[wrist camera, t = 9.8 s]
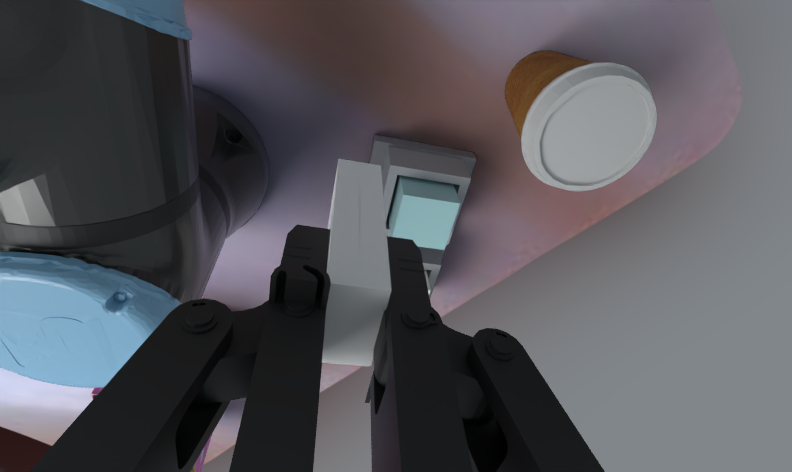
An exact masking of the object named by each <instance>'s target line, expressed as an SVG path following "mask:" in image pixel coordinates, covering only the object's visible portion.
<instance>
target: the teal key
mask: <svg viewBox="0 0 792 472" xmlns="http://www.w3.org/2000/svg"><path fill="white" fill-rule="evenodd" d="M459 206H460V201H459V199H458V196H457V193H456V190H455V187H454V185H453V184H451V183H445V182H439V181H432V180H426V179H420V178H414V177H408V176H402V175H397V178H396V183H395V187H394V191H393V195H392V199H391V203H390V207H389V212H388V218H389V228H390V237H397V238H404V239H411V240H413V241H414V242H415V244H416V245H417V246H418V247H426V248H433V249H440V250H445V247H446V244H447V241H448V238H449V235H450V232H451V229H452V226H453V224H454V221H455V218H456V215H457V212H458V209H459Z"/></svg>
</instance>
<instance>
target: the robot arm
mask: <svg viewBox="0 0 792 472" xmlns="http://www.w3.org/2000/svg"><path fill="white" fill-rule="evenodd" d="M189 40H192V33H191V30H190V29H189V28H188V27H187V24H186V18H185V12H184V4H183V0H0V367H1V368H3V369H6V370H9V371H12V372H15V373H17V374H20V375H22V376H25V377H28V378H32V379H35V380H39V381H43V382H48V383H52V384H58V385H65V386H73V387H87V388H100V387H104V388H103V389H102V390H101V391H100V393H99V394H98V395H97V396H96V397H95V398H94V399H93V400H92V402H91V403H90V404H89V405H88V406H87V407H86V408H85V410H84V411H83V412H82V413H81V414H80V415H79V416H78V418H77V419H76V420H75V421H74V422H73V423H72V424H71V425H70V427H69V428H68V429H67V430H66V431H65V432H64V433H63V435H62V436H61V437H60V438H59V439H58V440H57V441H56V442H55V444H54V445H53V446H52V447H51V448H50V449H49V451H48V452H47V453H46V454H45V455H44V456H43V457H42V458H41V460H40V461H39V462H38V463H37V464H36V465H35V466H34V468H33V469H32V470H31V471H30V472H190V471H191V469H192V468H193V466H194V464H195V462H196V461H197V459H198V457H199V455H200V454H201V452H202V450H203V448H204V447H205V445H206V443H207V441H208V440H209V438H210V436H211V434H212V433H213V431H214V429H215V427H216V426H217V424H218V422H219V420H220V418H221V417H222V415H223V413H224V411H225V410H226V408H227V406H228V404H229V402H230V400H235V399H239V398H244V397H247V398H246V402H245V407H244V411H243V415H242V419H241V424H240V428H239V432H238V436H237V441H236V445H235V449H234V454H233V458H232V463H231V467H230V470H229V472H313V463H314V449H315V439H316V438H315V437H316V427H317V425H316V424H317V414H318V403H319V391H320V379H321V366H322V362H323V363H334V364H346V365H357V366H369V367H370V366H371V363H372V359H373V355H374V371H373V375H372V379H371V382H370V385H369V389H368V392H367V396H366V401H365V403H369V402H370V399H371V442H372V443H371V444H372V472H604V470H603V468H602V467H601V465H600V464H599V462H598V461H597V459H596V458H595V456H594V455H593V453H592V452H591V450H590V449H589V447H588V445H587V444H586V442H585V441H584V439H583V438H582V436H581V435H580V434H579V432H578V430H577V429H576V427H575V426H574V424H573V423H572V421H571V420H570V418H569V416H568V415H567V413H566V412H565V410H564V409H563V407H562V406H561V404H560V403H559V401H558V400H557V398H556V397H555V395H554V394H553V392H552V391H551V389H550V387H549V386H548V384H547V383H546V381H545V380H544V378H543V377H542V375H541V374H540V372H539V371H538V369H537V368H536V366H535V365H534V363H533V361H532V360H531V358H530V357H529V355H528V354H527V352H526V351H525V349H524V348H523V346H522V345H521V344H520V343H519V342H518V341H517V339H516V338H514V337H513V336H511V335H510V334H508V333H507V332H504V331H501V330H498V329H492V328H491V329H490V328H486V329H483V330H479V331H478V332H477V333H476V334H475V335H474V337H471V336H468V335H465V334H462V333H460V332H457V331H455V330H453V329H451V328H449V327H447V326H446V325H444V324H443V323H442V320H441V318H440V315H439V314H438V313H437V312H436V311H435V310H434V309H433V308H432V307H431V303H430V298H429V293H428V287H427V282H426V276H425V273H424V266H423V260H422V255H421V250H420V249H419V248H418V246H417V245H416V244H415V242H414V241H413V240H411V239H404V238H397V237H389V236H387V232H386V221H385V209H384V197H383V186H382V174H381V166H380V165H374V164H368V163H363V162H357V161H351V160H345V159H339V158H338V164H337V171H336V177H335V183H334V190H333V196H332V203H331V209H330V215H329V222H328V229H324V228H317V227H310V226H303V225H296V226H295V227H294V228H293V229H292V230H291V231H290V232H289V233H288V235H287V239H286V243H285V247H284V252H283V257H282V260H281V265H280V266H279V267H277V268H276V269H275V270H274V272H273V273H272V275H271V282H270V295H269V300H268V301H267V302H265V303H264V304H262V305H260V306H258V307H256V308H253V309H248V310H244V311H236V312H231V311H230V310H229V308H228V307H227V306H226V305H225V304H222V303H220V302H218V301H216V300H209V299H201V297H202V295H203V292H204V290H205V287H206V285H207V282H208V280H209V278H210V275H211V273H212V270H213V268H214V266H215V263H216V261H217V258H218V256H219V254H220V251H221V249H222V246H223V244H224V241H225V239H226V238H227V237H229V236H230V235H231V234H233V233H234V232H235V231H236V230H237V229H239V228H240V227H242V226H243V225H245V224H246V223H247V222H248V221H249V220H250V219H251V218H252V217H253V216H254V214H255V213H256V211H257V210H258V208H259V207H260V205H261V203H262V200H263V198H264V195H265V192H266V189H267V186H268V181H269V162H268V157H267V153H266V150H265V147H264V144H263V142H262V140H261V138H260V136H259V135H258V133H257V131H256V130H255V128H254V127H253V126H252V124H251V123H250V122H249V121H248V119H247V118H246V117H245V116H244V115H243V114H242V113H241V112H240V111H238V110H237V109H236V108H235V107H234V106H232V105H231V104H230V103H228V102H227V101H225V100H224V99H222V98H220V97H219V96H217V95H215V94H213V93H211V92H209V91H206V90H204V89H201V88H198V87H195V86H192V74H191V61H190V48H189Z"/></svg>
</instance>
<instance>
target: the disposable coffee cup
mask: <svg viewBox="0 0 792 472" xmlns="http://www.w3.org/2000/svg"><path fill="white" fill-rule="evenodd" d="M505 99H506V103H507V105H508V107H509V109H510V112H511V115H512V117H513V120H514V122H515V125H516V127H517V130H518V132H519V135H520V137H521V144H522V154H523V157H524V160H525V162H526V164H527V166H528V168H529V169H530V171H531V172H532V173H533V174H534V175H535V176H536V177H537V178H538V179H539V180H541V181H542V182H544V183H545V184H548V185H551V186H554V187H557V188H562V189H565V190H570V191H587V190H593V189H596V188H600V187H603V186H605V185H607V184H609V183H611V182H613V181H615V180H617V179H618V178H620V177H622V176H623V175H624V174H626V173H627V172H628V171H630V170H631V169H632V168H633V167H634V166H635V165H636V164H637V163H638V162H639V160H640V159H641V158H642V156H643V155H644V153H645V152H646V150H647V149H648V147H649V145H650V143H651V141H652V139H653V136H654V133H655V128H656V122H657V115H656V106H655V103H654V101H653V96H652V91H651V89H650V87H649V86H648V84H647V82H646V81H645V79H644V78H643V77H642V76H641V75H640V74H639V73H638V72H636V71H634V70H633V69H631V68H629V67H627V66H625V65H621V64H617V63H612V62H600V63H593V62H590V61H586V60H583V59H579V58H575V57H572V56H568V55H564V54H560V53H557V52H553V51H539V52H535V53H533V54H530V55H528V56H527V57H525V58H524V59H522V60H521V61H520V62H519V63H517V64H516V66H515V67H514V68H513V69H512V71H511V73H510V75H509V76H508V79H507V82H506V86H505Z"/></svg>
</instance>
